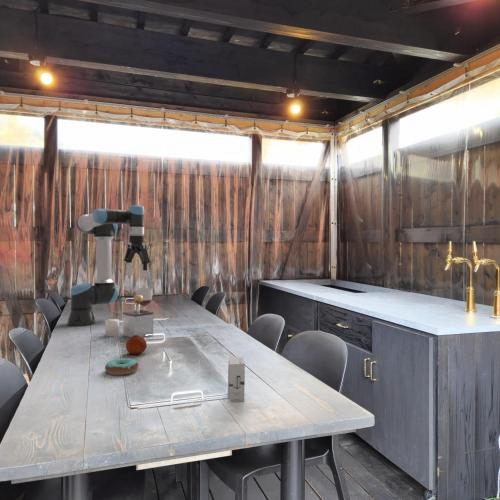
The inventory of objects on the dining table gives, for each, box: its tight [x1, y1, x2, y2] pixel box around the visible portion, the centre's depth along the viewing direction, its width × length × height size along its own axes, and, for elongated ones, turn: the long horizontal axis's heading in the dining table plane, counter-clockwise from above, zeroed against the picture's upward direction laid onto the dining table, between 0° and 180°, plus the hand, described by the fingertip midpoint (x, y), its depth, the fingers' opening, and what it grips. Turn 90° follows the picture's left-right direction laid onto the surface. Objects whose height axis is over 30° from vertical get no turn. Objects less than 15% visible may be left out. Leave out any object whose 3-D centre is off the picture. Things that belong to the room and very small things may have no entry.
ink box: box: [227, 356, 246, 403], centre depth 134 cm, size 9×5×12 cm, turn 5°
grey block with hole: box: [122, 309, 154, 338], centre depth 222 cm, size 11×11×12 cm
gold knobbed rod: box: [133, 294, 143, 313], centre depth 222 cm, size 7×7×19 cm
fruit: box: [125, 335, 147, 355], centre depth 185 cm, size 9×9×8 cm
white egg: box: [104, 318, 120, 338], centre depth 222 cm, size 7×7×8 cm
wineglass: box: [135, 287, 154, 311], centre depth 241 cm, size 9×10×22 cm
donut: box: [104, 357, 139, 376], centre depth 160 cm, size 12×12×4 cm
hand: (136, 275), depth 224 cm, fingers open, 13 cm apart
